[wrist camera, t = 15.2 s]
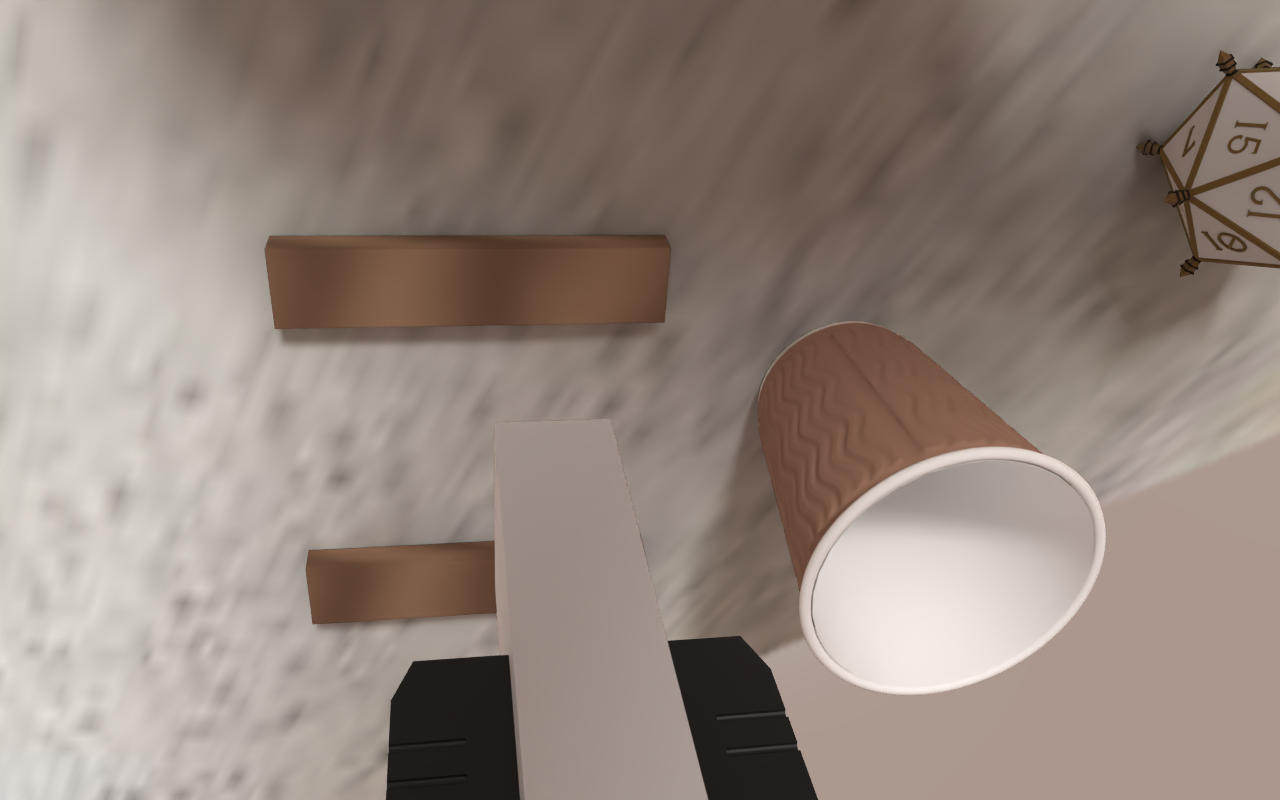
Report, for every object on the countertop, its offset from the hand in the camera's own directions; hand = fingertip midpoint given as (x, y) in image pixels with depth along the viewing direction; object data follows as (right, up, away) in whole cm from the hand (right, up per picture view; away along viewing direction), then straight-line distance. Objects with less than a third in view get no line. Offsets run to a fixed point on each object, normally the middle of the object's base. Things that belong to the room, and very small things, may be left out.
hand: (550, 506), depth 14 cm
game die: (+23, +12, +27) cm, 37 cm away
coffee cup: (+9, +2, +30) cm, 31 cm away
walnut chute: (-5, 0, +28) cm, 29 cm away
